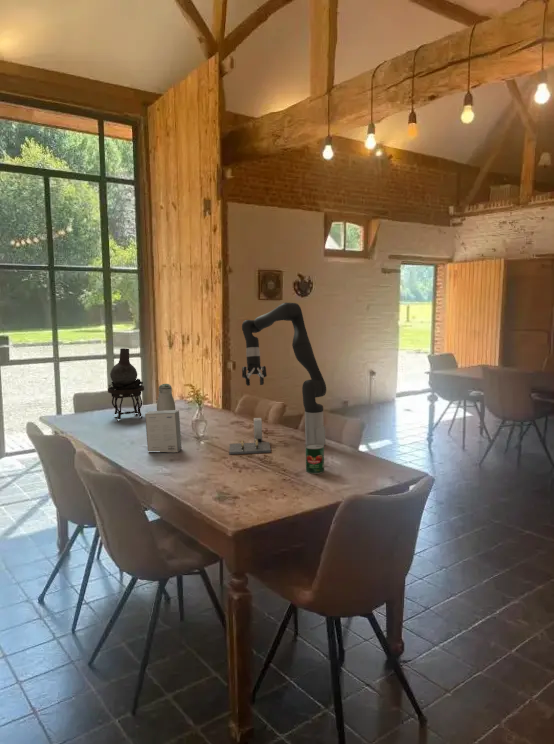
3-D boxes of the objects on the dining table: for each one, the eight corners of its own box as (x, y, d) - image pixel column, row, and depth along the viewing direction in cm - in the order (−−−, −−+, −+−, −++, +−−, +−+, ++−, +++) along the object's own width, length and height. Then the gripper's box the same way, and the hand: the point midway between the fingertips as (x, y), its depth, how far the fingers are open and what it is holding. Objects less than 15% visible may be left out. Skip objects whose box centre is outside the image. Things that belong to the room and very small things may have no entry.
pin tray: (229, 446, 291) (229, 438, 290) (269, 444, 292) (268, 436, 292) (229, 454, 275) (228, 446, 275) (270, 452, 276) (270, 444, 276)
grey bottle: (164, 435, 318) (161, 385, 315) (155, 432, 326) (152, 384, 322) (179, 432, 324) (176, 383, 321) (170, 429, 332) (168, 382, 329)
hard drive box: (182, 449, 289) (179, 410, 286) (178, 453, 281) (175, 413, 279) (152, 449, 290) (149, 410, 288) (147, 453, 283) (144, 413, 280)
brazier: (111, 415, 379) (107, 347, 374) (146, 413, 383) (142, 346, 378) (108, 422, 358) (103, 350, 352) (145, 420, 361) (140, 349, 356)
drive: (254, 440, 301) (253, 418, 299) (262, 440, 301) (261, 417, 300) (254, 443, 294) (253, 420, 293) (262, 443, 295) (261, 420, 293)
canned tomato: (309, 474, 240) (308, 449, 239) (303, 469, 248) (302, 444, 246) (327, 472, 242) (326, 447, 241) (320, 467, 250) (320, 442, 248)
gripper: (245, 355, 309) (247, 385, 309) (267, 355, 317) (269, 384, 316) (238, 356, 316) (240, 386, 315) (260, 356, 323) (262, 385, 323)
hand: (255, 385), depth 316 cm, fingers open, 8 cm apart
